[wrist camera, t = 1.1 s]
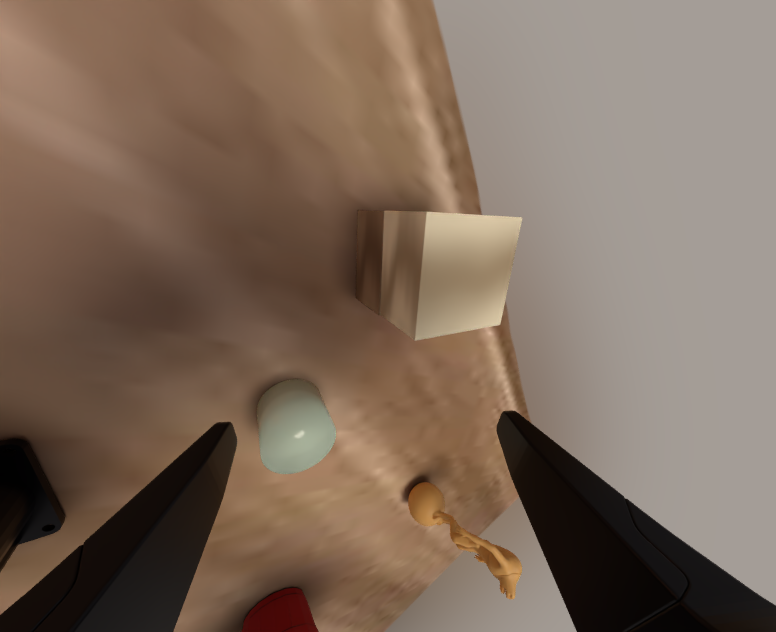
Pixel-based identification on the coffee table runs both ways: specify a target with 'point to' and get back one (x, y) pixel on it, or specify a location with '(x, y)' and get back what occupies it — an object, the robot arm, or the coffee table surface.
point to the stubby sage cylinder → (293, 427)
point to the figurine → (465, 536)
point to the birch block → (445, 271)
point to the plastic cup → (281, 614)
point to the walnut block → (369, 258)
